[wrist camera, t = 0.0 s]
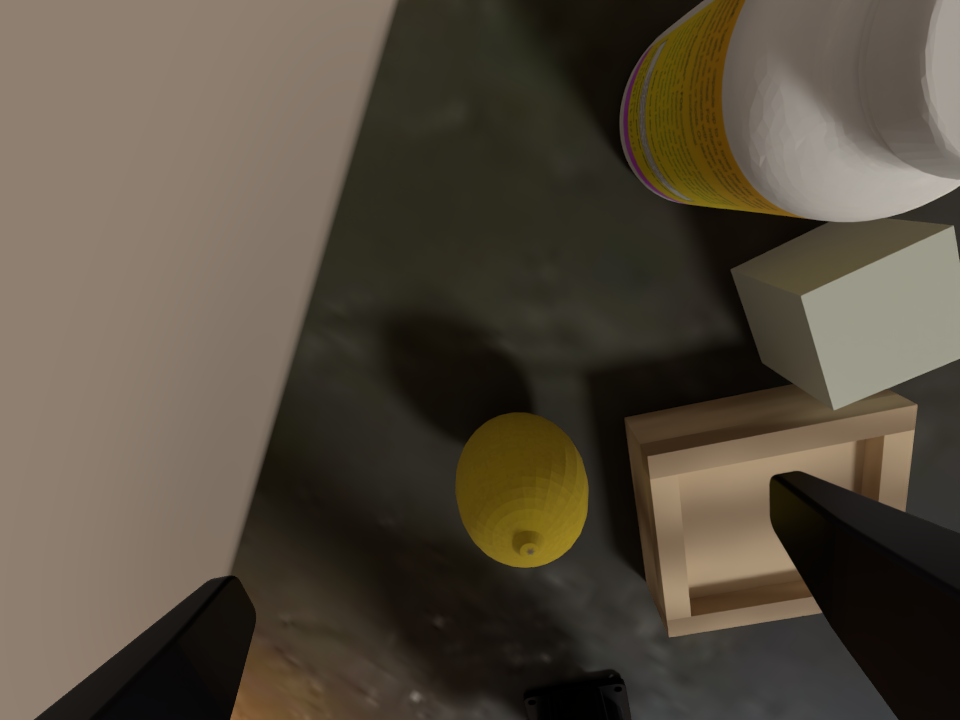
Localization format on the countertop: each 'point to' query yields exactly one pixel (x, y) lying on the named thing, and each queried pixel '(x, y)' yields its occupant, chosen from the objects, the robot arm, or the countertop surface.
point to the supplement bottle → (800, 107)
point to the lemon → (522, 490)
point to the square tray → (750, 495)
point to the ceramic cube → (855, 306)
